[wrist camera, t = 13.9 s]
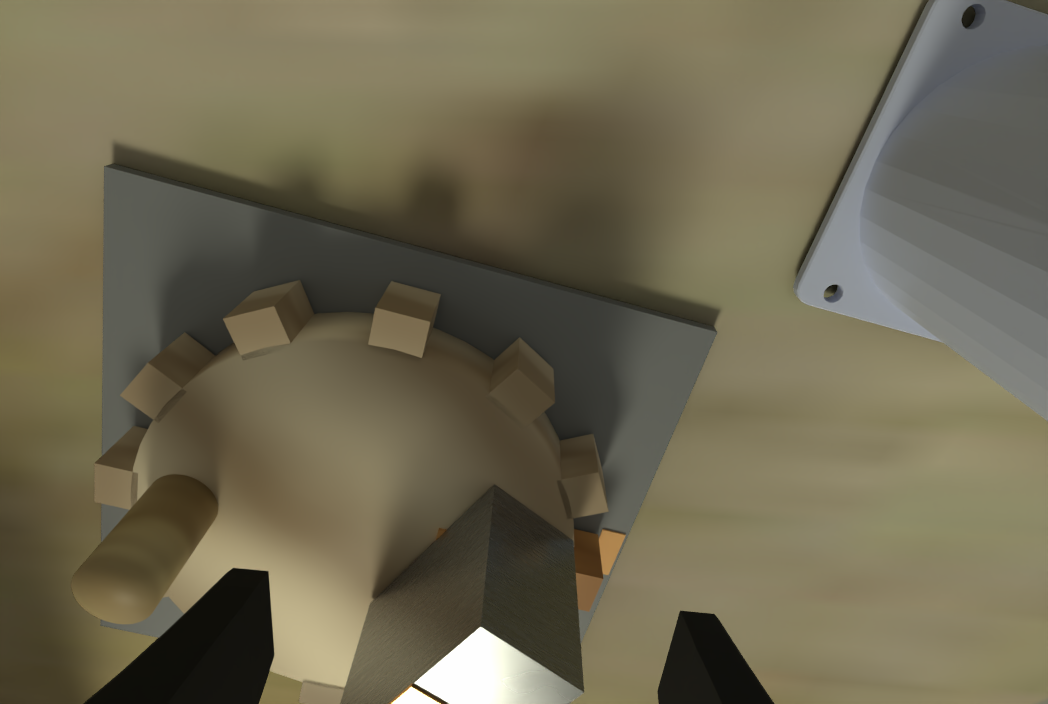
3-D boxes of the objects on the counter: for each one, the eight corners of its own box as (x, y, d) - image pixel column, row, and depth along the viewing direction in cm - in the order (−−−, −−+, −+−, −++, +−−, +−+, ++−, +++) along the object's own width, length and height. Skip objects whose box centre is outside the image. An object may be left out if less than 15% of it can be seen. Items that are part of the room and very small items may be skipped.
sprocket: (332, 162, 17) (247, 212, 12) (699, 505, 21) (748, 646, 16) (44, 493, 22) (-102, 627, 17) (394, 719, 26) (360, 879, 21)
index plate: (714, 326, 19) (717, 333, 19) (548, 708, 26) (548, 719, 26) (113, 163, 18) (103, 166, 17) (106, 617, 25) (99, 626, 24)
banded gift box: (573, 541, 20) (585, 695, 15) (446, 649, 22) (421, 816, 17) (494, 483, 19) (479, 628, 14) (369, 602, 21) (321, 763, 16)
